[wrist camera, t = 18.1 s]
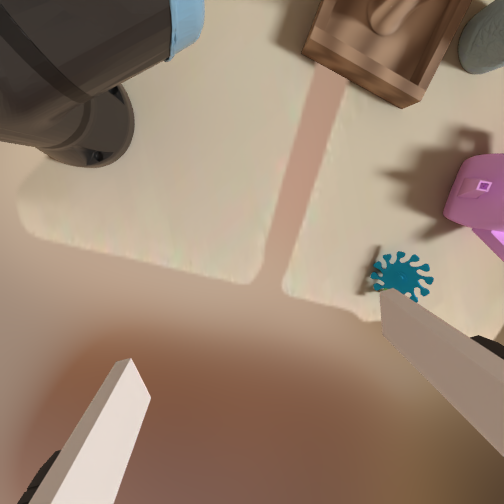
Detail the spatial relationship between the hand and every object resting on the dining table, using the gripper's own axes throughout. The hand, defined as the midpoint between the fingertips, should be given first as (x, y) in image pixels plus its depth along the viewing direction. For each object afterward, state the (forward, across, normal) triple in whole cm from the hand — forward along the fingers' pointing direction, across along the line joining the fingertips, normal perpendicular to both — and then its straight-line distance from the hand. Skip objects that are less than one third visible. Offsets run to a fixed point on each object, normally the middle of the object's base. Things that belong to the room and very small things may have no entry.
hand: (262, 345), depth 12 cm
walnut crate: (+32, +29, +26) cm, 50 cm away
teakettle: (+32, +46, -6) cm, 56 cm away
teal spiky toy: (+32, +27, -17) cm, 45 cm away
